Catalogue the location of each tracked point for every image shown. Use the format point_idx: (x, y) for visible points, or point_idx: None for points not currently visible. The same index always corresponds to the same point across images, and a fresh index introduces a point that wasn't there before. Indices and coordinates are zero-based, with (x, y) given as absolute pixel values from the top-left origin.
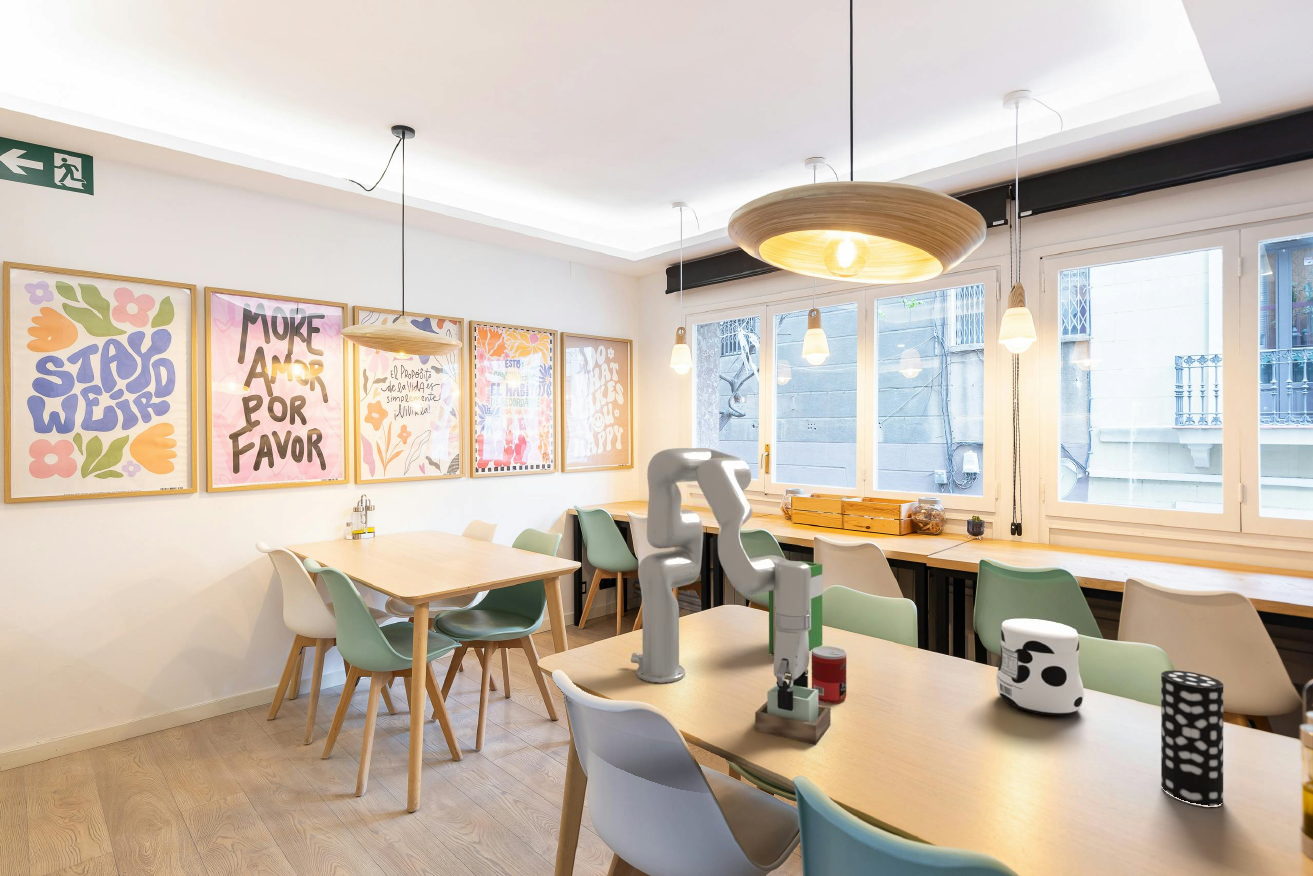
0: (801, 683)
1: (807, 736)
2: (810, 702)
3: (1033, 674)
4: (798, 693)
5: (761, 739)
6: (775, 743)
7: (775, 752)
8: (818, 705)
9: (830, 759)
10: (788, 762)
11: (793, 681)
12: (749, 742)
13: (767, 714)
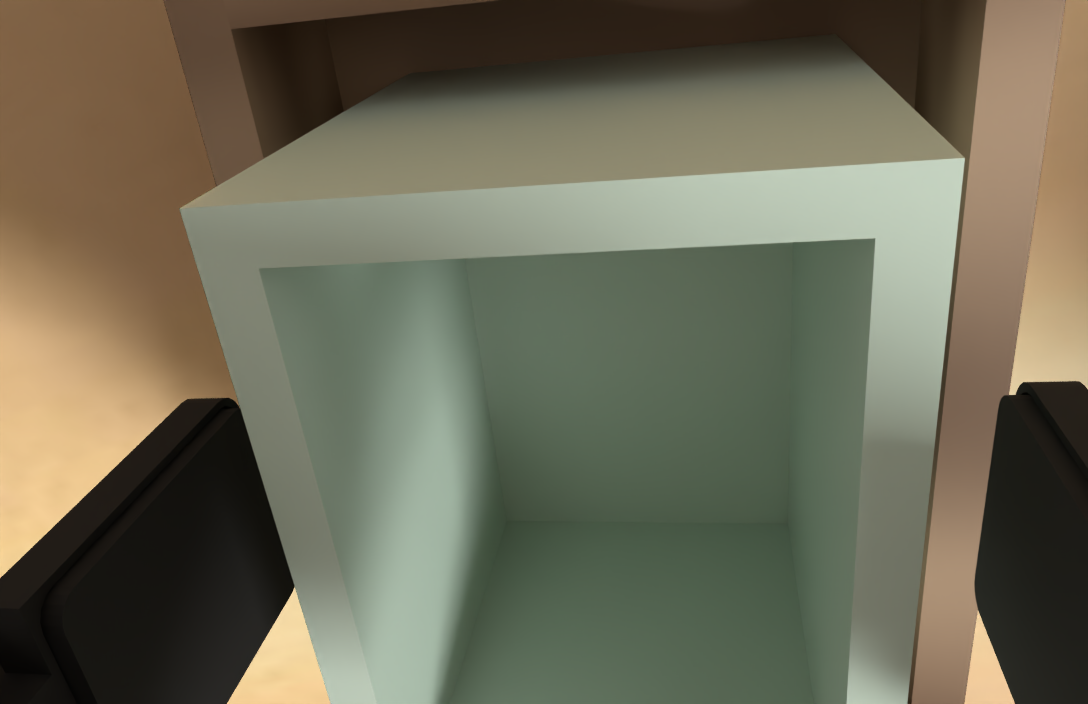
0: (1051, 672)
1: None
2: None
3: None
4: (830, 552)
5: (162, 127)
6: (199, 284)
7: (63, 349)
8: (952, 630)
9: (289, 694)
10: (22, 485)
11: (1085, 526)
12: (12, 47)
13: (234, 172)
